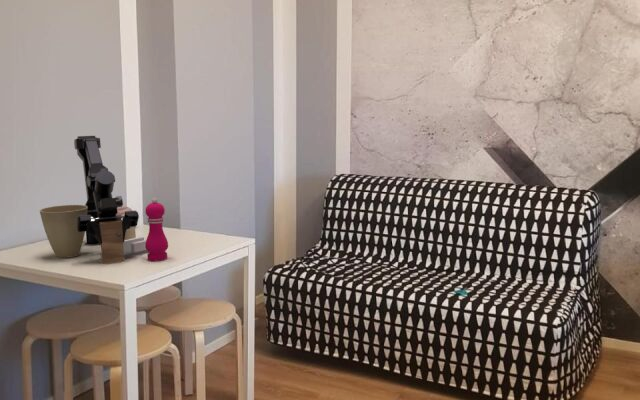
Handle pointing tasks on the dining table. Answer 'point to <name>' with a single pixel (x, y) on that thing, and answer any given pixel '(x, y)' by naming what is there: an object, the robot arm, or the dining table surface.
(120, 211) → the cupcake
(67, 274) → the dining table surface
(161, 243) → the pepper mill
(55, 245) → the plant pot
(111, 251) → the door
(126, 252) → the board
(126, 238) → the candle
